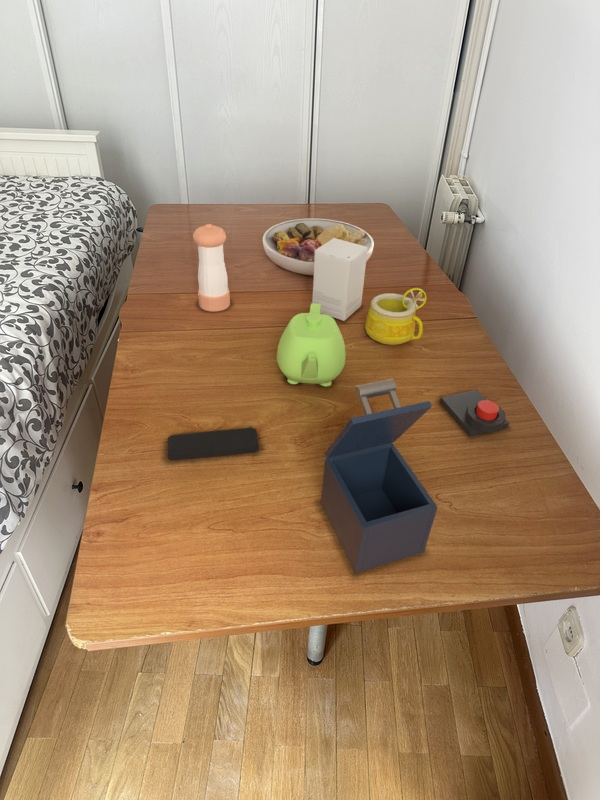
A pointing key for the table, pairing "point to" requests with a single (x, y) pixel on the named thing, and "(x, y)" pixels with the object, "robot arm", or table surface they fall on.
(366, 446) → the blue drawer with handle
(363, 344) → the table surface
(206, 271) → the pepper shaker
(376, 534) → the lidded box
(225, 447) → the remote control
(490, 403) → the button
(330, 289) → the white product box
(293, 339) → the teapot
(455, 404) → the switch block
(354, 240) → the bowl
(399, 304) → the mug
